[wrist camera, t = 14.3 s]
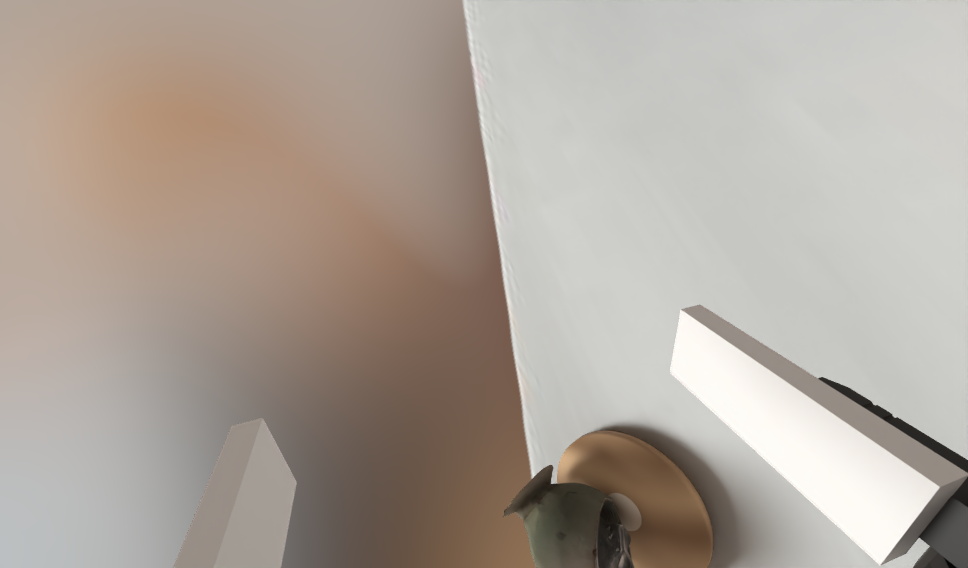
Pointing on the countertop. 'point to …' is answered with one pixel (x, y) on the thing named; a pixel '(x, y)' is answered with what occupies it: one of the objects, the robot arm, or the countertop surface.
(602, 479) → the lazy susan
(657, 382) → the countertop surface
